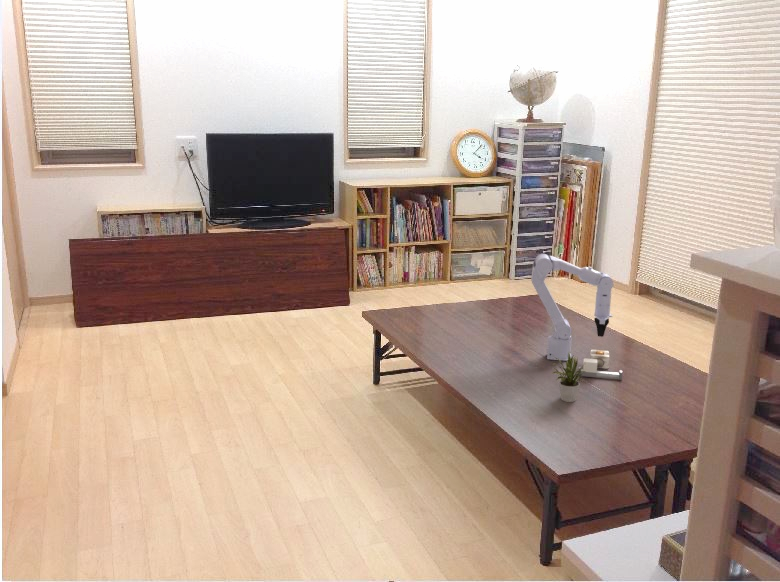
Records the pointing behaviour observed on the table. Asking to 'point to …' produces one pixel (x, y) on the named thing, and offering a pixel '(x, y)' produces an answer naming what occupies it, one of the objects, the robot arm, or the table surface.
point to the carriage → (590, 367)
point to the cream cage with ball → (601, 358)
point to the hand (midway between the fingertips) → (600, 336)
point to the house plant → (569, 379)
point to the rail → (605, 374)
